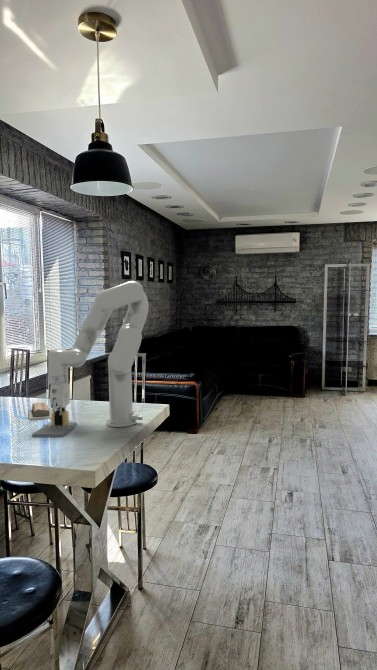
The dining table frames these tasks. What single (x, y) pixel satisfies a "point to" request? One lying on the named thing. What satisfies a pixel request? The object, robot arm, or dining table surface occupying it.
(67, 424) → the yellow block
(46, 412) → the packaged product
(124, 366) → the robot arm
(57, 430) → the ticket board
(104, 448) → the dining table surface
